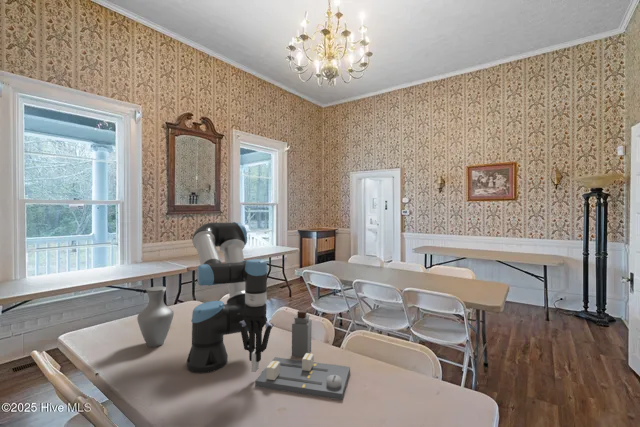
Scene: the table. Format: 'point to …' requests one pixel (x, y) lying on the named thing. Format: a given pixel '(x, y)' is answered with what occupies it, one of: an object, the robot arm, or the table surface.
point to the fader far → (307, 361)
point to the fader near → (273, 370)
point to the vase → (155, 318)
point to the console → (307, 379)
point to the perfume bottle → (301, 334)
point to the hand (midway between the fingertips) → (255, 370)
